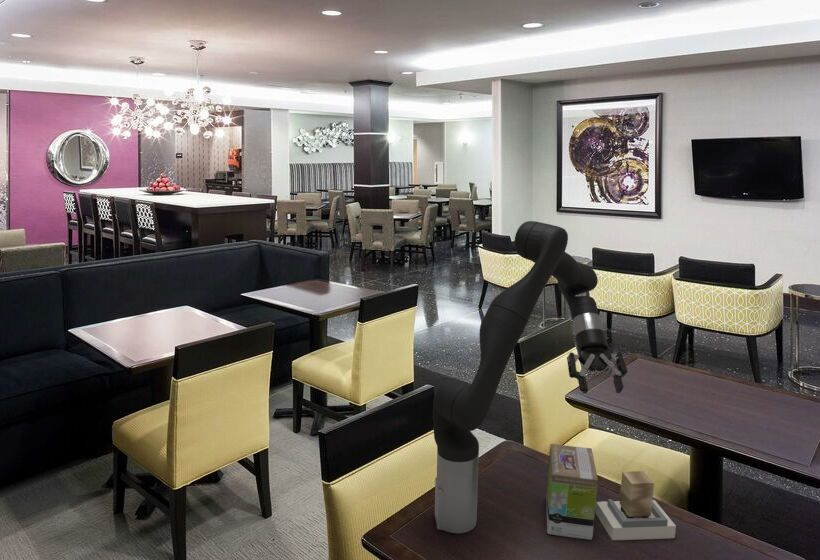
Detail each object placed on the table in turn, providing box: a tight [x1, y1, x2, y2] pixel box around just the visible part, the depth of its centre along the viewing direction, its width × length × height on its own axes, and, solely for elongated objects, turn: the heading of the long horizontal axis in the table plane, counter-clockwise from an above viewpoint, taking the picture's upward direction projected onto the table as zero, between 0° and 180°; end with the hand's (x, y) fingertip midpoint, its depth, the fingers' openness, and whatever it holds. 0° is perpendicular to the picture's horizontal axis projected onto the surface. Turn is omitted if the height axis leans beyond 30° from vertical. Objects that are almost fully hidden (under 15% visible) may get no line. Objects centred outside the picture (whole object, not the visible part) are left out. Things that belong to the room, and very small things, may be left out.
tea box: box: [545, 443, 599, 541], centre depth 136 cm, size 15×10×15 cm
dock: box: [595, 498, 677, 541], centre depth 134 cm, size 14×10×4 cm
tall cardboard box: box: [619, 470, 655, 519], centre depth 133 cm, size 5×5×9 cm
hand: (602, 392), depth 147 cm, fingers open, 8 cm apart
